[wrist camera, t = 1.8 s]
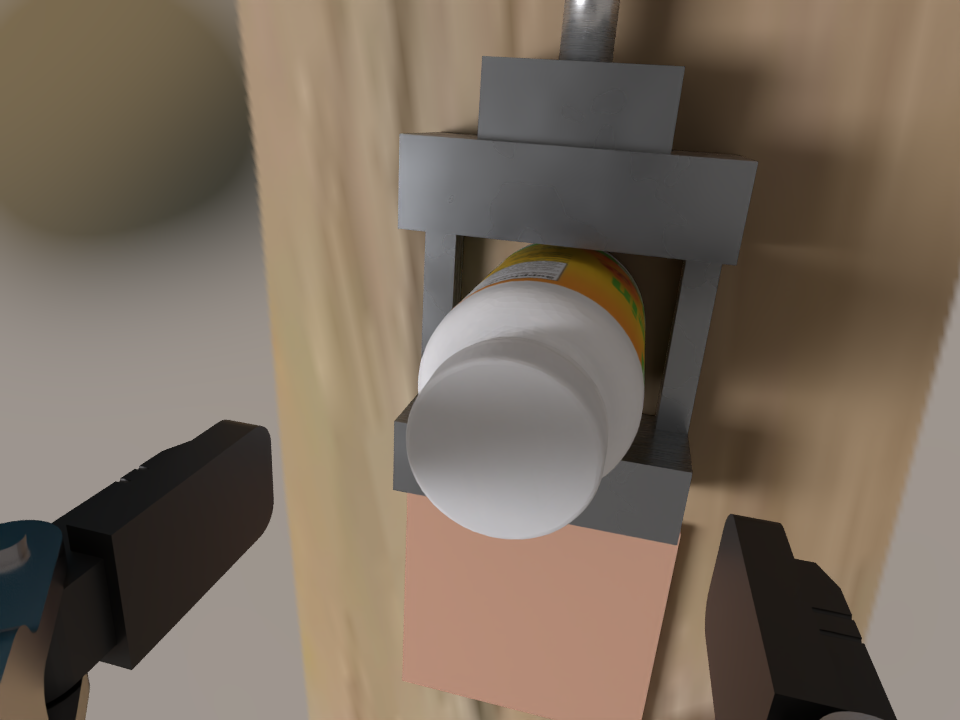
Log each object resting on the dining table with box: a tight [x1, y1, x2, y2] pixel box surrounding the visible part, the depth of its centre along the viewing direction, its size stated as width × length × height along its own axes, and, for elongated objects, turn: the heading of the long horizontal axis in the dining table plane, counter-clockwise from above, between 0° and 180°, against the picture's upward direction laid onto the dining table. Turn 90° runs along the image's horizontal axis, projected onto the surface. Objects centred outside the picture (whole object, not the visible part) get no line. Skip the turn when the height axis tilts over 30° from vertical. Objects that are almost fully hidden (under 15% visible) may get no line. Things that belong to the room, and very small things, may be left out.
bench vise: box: [393, 0, 758, 545], centre depth 19 cm, size 18×9×4 cm, turn 176°
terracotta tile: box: [402, 493, 681, 720], centre depth 25 cm, size 10×10×1 cm
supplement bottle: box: [406, 243, 645, 540], centre depth 17 cm, size 5×5×10 cm
